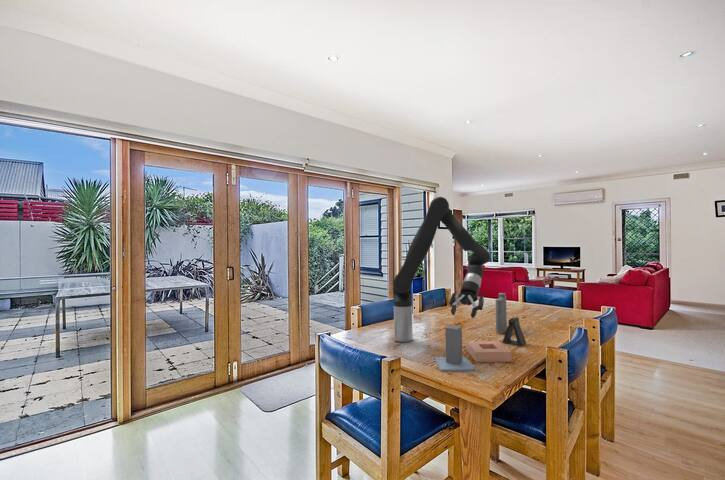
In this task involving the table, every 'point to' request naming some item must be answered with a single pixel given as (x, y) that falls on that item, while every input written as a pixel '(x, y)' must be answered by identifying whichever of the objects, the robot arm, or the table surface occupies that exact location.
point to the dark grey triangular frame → (518, 332)
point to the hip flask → (501, 314)
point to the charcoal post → (453, 344)
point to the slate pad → (454, 365)
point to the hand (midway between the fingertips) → (462, 315)
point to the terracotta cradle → (489, 351)
